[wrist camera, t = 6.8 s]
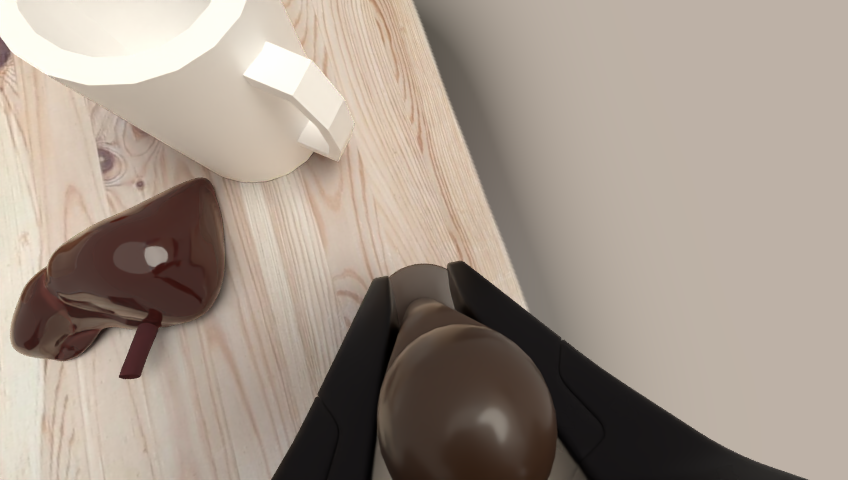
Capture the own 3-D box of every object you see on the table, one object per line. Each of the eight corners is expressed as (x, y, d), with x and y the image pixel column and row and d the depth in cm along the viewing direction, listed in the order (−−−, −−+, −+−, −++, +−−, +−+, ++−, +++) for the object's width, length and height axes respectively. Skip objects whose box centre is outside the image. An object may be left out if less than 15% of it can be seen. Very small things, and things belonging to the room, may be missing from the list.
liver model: (258, 224, 24) (215, 360, 17) (124, 264, 25) (31, 407, 18) (191, 154, 19) (92, 302, 12) (29, 207, 20) (-149, 372, 13)
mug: (391, 101, 23) (374, -54, 13) (331, 224, 22) (255, 164, 11) (227, 32, 24) (79, -173, 13) (157, 148, 22) (-77, 22, 12)
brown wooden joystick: (487, 317, 15) (925, 485, 2) (417, 381, 14) (456, 1118, 2) (427, 248, 15) (498, 49, 3) (357, 308, 15) (7, 431, 2)
